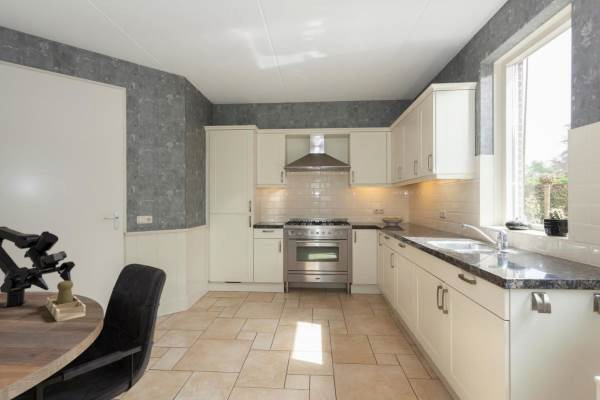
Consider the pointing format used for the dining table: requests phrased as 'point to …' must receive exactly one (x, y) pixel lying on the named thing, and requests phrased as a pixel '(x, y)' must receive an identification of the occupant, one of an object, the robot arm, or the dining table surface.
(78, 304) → the wooden compartment tray
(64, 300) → the cork
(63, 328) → the dining table surface
